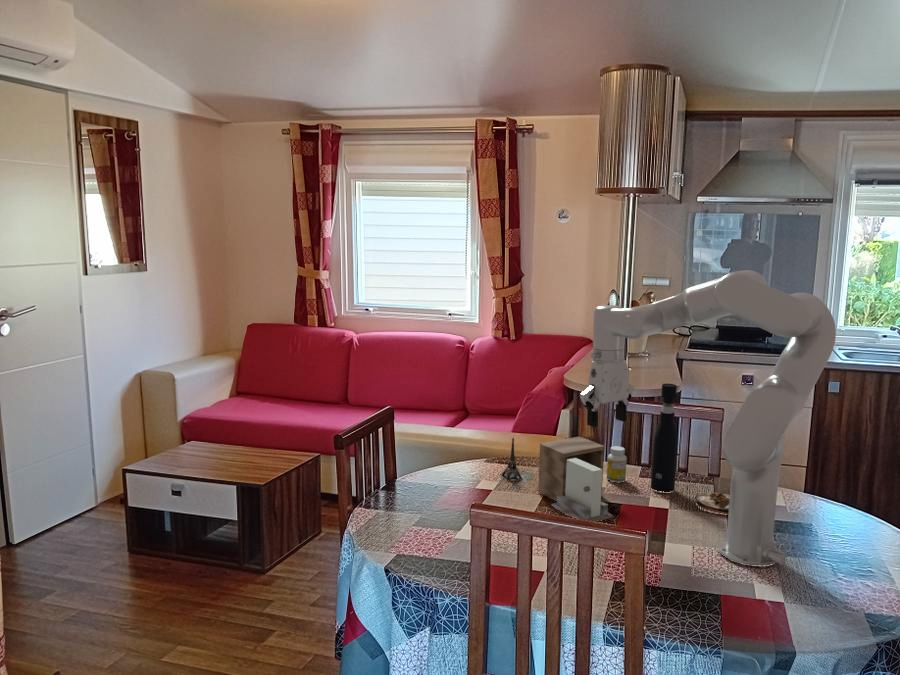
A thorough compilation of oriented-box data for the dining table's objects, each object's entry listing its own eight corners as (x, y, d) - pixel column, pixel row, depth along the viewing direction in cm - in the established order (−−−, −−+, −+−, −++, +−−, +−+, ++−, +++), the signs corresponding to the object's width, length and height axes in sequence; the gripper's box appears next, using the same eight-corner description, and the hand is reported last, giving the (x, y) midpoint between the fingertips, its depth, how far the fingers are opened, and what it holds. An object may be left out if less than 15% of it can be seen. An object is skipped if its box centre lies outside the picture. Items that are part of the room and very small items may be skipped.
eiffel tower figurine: (517, 491, 200) (519, 444, 198) (485, 484, 205) (486, 438, 203) (539, 475, 213) (541, 431, 211) (508, 469, 218) (509, 426, 216)
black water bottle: (671, 486, 204) (678, 382, 199) (676, 494, 198) (683, 388, 193) (648, 485, 205) (655, 381, 200) (652, 493, 198) (659, 387, 194)
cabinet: (636, 512, 185) (640, 459, 183) (585, 525, 176) (587, 471, 174) (577, 484, 205) (579, 436, 202) (528, 495, 196) (529, 445, 193)
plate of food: (762, 517, 185) (764, 501, 184) (711, 522, 181) (712, 506, 180) (726, 496, 199) (728, 481, 198) (678, 500, 195) (679, 485, 194)
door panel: (599, 515, 180) (602, 469, 178) (587, 518, 178) (590, 472, 176) (573, 501, 189) (575, 457, 187) (561, 504, 187) (563, 460, 185)
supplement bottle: (624, 484, 205) (626, 452, 203) (605, 482, 207) (606, 449, 205) (626, 478, 210) (628, 446, 208) (607, 476, 212) (609, 444, 210)
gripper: (593, 361, 170) (591, 431, 172) (644, 354, 179) (642, 421, 181) (571, 356, 176) (570, 425, 178) (622, 350, 185) (620, 415, 188)
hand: (606, 423), depth 180 cm, fingers open, 9 cm apart
